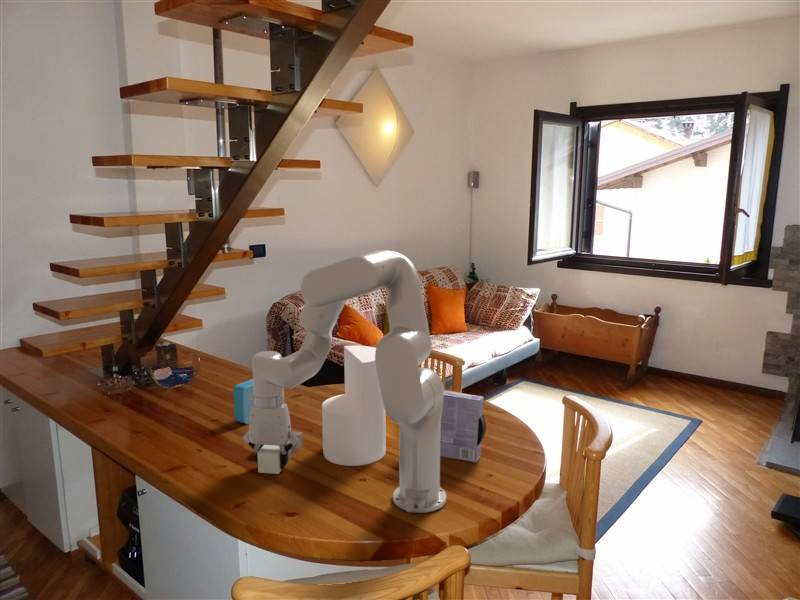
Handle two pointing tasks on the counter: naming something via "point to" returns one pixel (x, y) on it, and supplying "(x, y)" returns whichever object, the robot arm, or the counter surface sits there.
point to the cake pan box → (462, 426)
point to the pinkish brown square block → (297, 446)
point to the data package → (243, 401)
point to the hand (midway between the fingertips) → (272, 465)
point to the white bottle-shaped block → (356, 413)
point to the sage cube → (269, 459)
